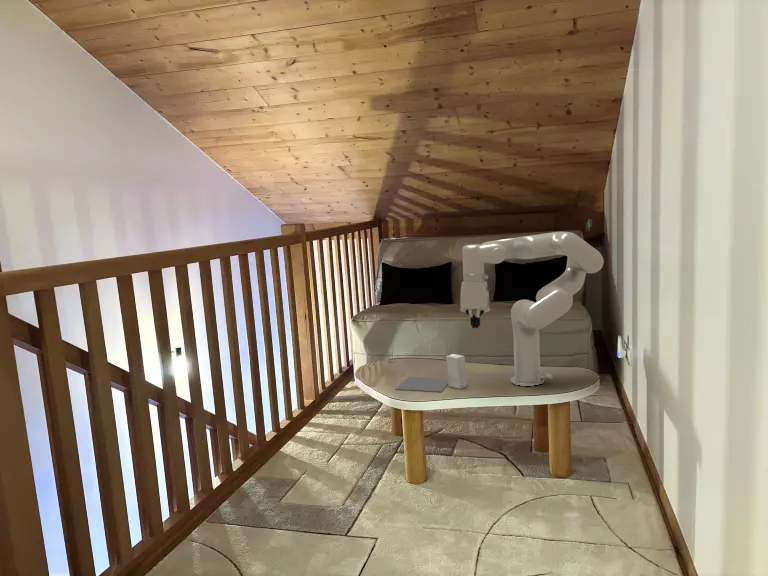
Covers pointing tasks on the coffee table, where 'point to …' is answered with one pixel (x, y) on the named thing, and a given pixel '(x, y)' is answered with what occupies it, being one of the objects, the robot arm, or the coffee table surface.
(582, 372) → the coffee table surface
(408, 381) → the mat
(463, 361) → the skincare box
